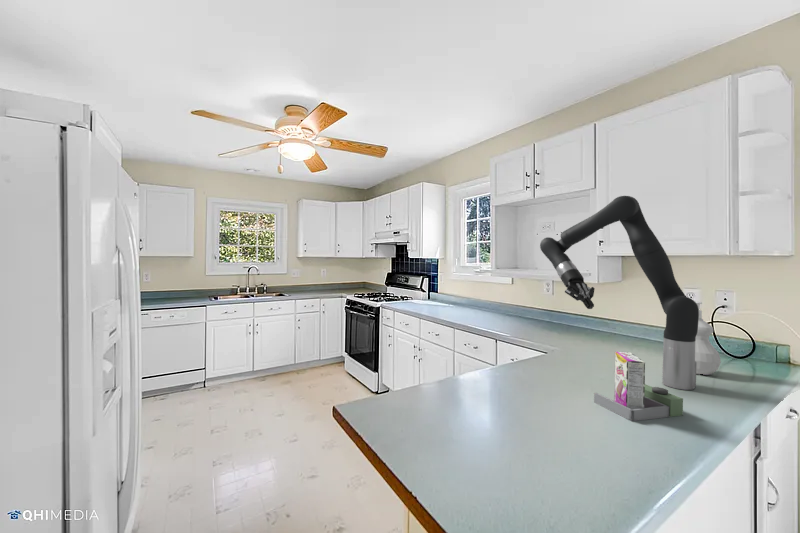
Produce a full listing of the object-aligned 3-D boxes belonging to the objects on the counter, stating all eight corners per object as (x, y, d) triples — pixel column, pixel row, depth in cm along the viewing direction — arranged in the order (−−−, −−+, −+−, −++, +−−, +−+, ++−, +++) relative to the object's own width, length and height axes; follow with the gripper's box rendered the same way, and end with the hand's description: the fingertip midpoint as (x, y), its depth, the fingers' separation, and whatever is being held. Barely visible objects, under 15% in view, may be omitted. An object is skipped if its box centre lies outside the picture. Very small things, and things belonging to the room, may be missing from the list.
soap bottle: (726, 376, 142) (728, 303, 142) (711, 379, 137) (714, 304, 137) (678, 364, 157) (680, 299, 157) (663, 367, 152) (665, 300, 152)
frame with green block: (640, 397, 118) (641, 379, 118) (682, 415, 104) (683, 395, 104) (594, 402, 113) (594, 383, 113) (631, 421, 100) (632, 400, 100)
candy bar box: (613, 401, 114) (614, 351, 114) (630, 403, 113) (631, 352, 113) (625, 415, 104) (626, 360, 103) (644, 417, 102) (646, 361, 102)
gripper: (560, 268, 142) (581, 301, 130) (587, 268, 145) (611, 301, 133) (551, 280, 147) (571, 314, 135) (578, 280, 150) (600, 313, 138)
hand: (591, 307), depth 134 cm, fingers closed
